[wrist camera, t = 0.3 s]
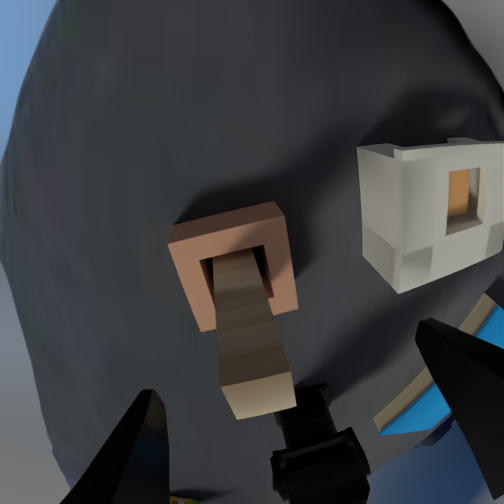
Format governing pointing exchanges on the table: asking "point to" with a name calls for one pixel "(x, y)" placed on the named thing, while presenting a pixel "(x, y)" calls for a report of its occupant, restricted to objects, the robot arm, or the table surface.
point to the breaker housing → (429, 209)
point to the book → (423, 386)
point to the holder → (229, 240)
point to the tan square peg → (248, 339)
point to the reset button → (458, 192)
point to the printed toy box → (182, 500)
